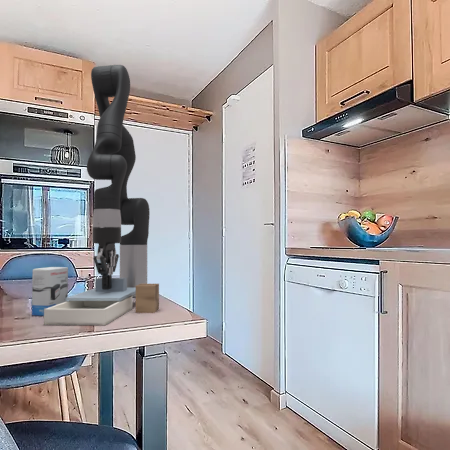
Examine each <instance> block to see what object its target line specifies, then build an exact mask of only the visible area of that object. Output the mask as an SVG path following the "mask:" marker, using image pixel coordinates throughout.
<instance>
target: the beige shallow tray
mask: <svg viewBox="0 0 450 450" xmlns="http://www.w3.org/2000/svg"><path fill="white" fill-rule="evenodd" d="M133 298H134V297H133V296H129V297H127V298H125V299H123V300H121V301H66V302H64V303H61V304H58V305H55V306H52V307H49V308H46V309H44V316H43V326H107V325H108V324H110V323H112V322H113V321H115V320H117V319H118V318H120V317H121V316H123V315H125V314H126V313H128V312H130V311H131V310H133Z"/></svg>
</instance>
